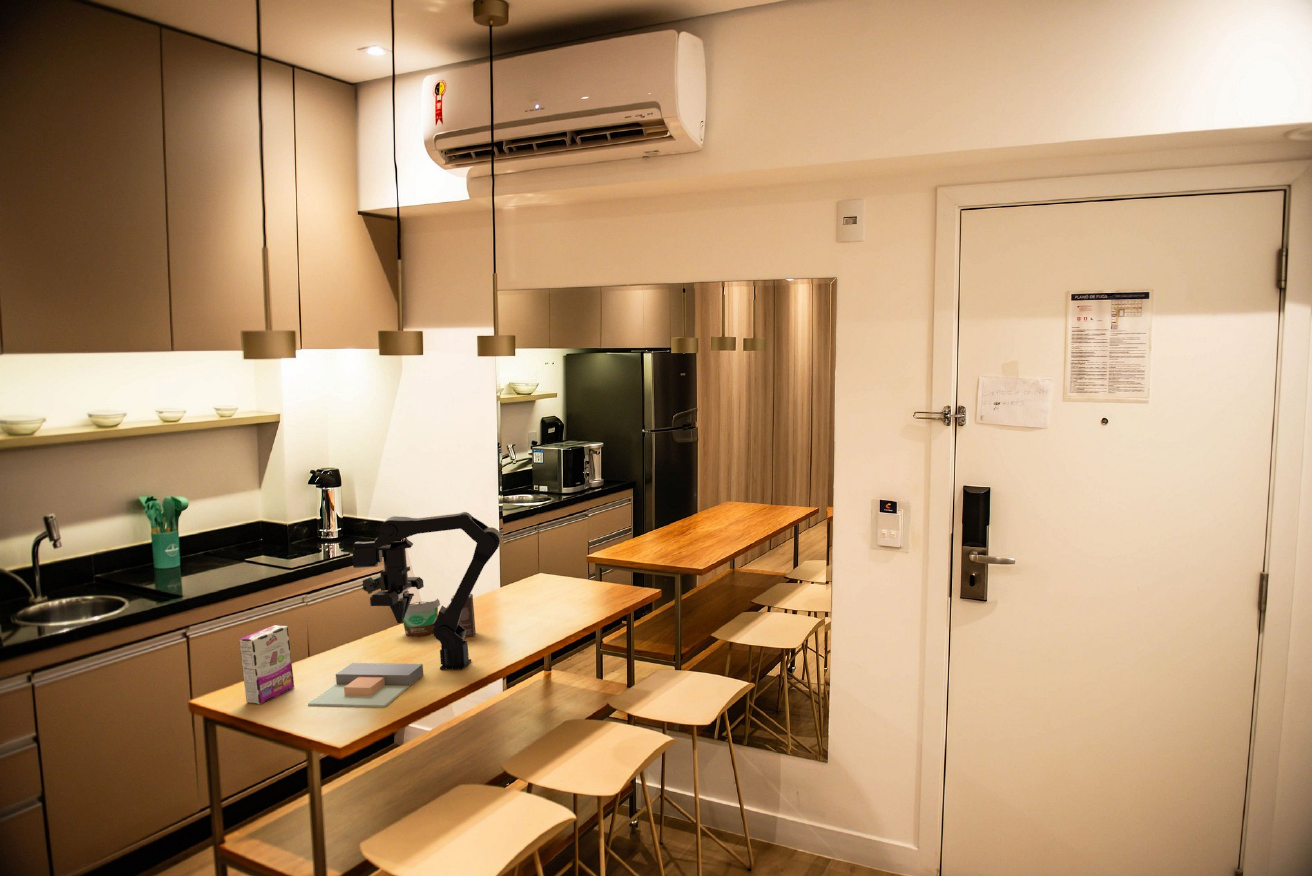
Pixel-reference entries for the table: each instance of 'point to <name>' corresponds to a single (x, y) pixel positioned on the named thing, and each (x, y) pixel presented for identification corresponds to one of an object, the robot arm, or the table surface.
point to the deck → (382, 673)
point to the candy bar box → (266, 664)
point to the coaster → (364, 686)
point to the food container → (420, 618)
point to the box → (468, 617)
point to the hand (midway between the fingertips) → (400, 622)
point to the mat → (358, 697)
